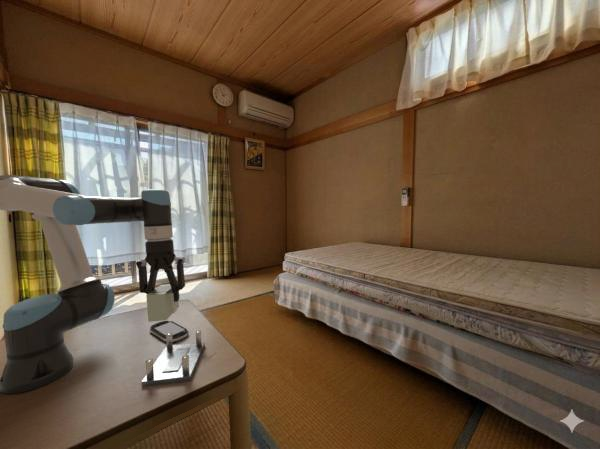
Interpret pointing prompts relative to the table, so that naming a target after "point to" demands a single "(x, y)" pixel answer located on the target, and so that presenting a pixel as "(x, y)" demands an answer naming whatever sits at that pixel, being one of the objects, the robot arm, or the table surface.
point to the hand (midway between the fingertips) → (164, 312)
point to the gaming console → (169, 330)
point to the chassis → (174, 362)
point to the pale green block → (159, 303)
